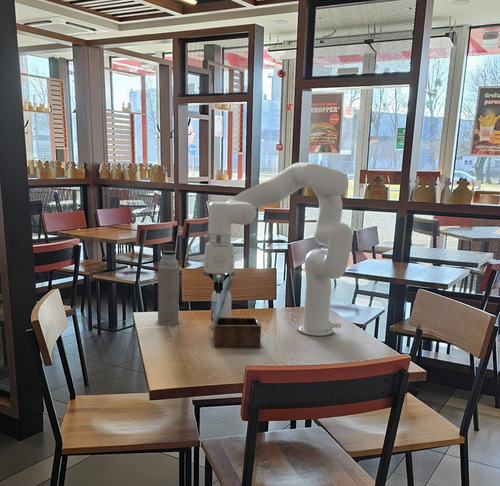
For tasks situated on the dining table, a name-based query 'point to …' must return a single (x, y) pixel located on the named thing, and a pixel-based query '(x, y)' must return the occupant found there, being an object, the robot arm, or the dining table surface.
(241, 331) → the brown wooden box
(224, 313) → the milk bottle
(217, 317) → the light blue flat slab
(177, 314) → the thermos bottle
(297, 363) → the dining table surface
